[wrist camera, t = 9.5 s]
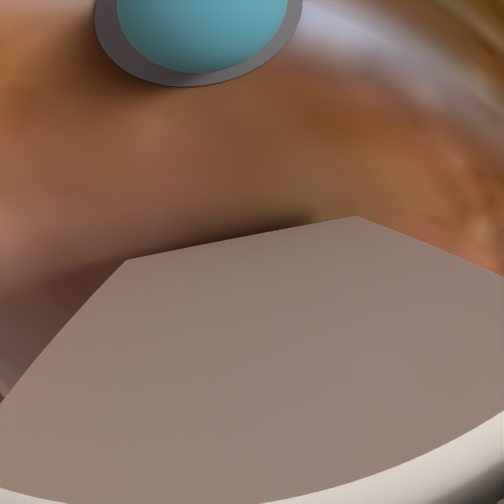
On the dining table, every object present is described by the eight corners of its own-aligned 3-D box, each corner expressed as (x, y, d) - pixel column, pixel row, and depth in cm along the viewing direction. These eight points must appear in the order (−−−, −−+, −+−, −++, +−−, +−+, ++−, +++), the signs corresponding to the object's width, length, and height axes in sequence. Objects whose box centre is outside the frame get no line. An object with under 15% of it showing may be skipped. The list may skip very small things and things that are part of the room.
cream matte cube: (363, 394, 12) (459, 557, 4) (186, 431, 12) (178, 622, 4) (356, 215, 10) (601, 328, 2) (126, 259, 10) (-47, 470, 2)
